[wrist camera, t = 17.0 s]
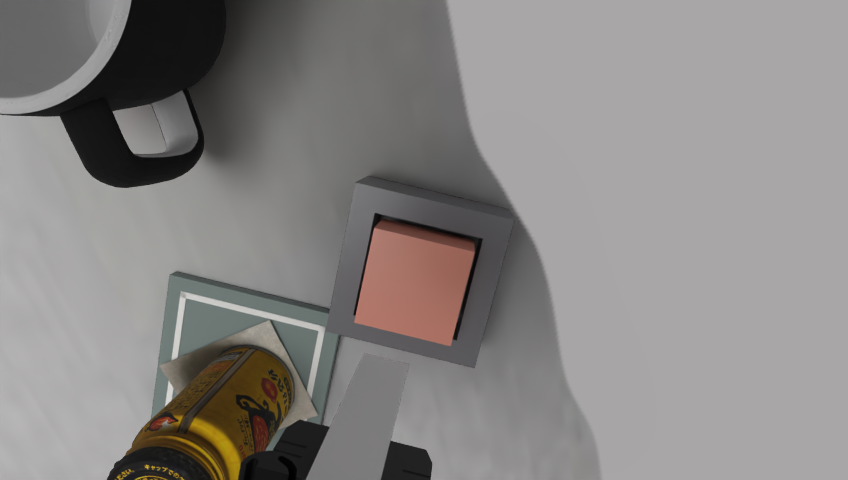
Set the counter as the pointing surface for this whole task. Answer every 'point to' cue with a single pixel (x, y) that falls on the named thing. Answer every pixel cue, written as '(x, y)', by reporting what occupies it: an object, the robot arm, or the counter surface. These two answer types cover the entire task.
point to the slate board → (239, 310)
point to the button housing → (435, 214)
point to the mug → (112, 75)
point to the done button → (414, 281)
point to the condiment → (219, 410)
